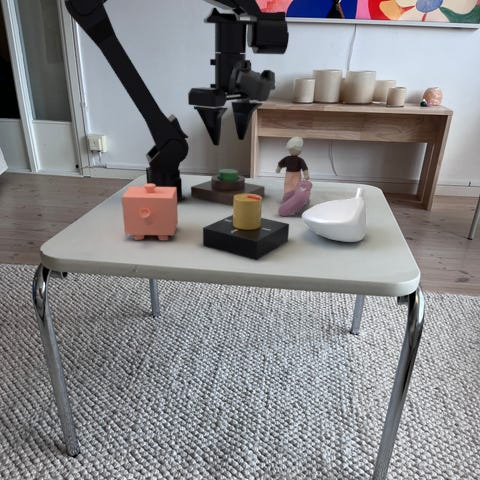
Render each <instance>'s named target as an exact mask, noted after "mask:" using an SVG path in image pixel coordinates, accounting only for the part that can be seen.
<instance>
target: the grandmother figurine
mask: <svg viewBox="0 0 480 480" xmlns="http://www.w3.org/2000/svg"><path fill="white" fill-rule="evenodd" d="M303 146H304V140H303V138H302V137H300V136H294V137H291V138H290V139H289V140H288V142H287V143H286V146H285V149H286V150H287V151H288V153H289V155H286V156H284V157H283V158H281V159H280V160H279V161H278V162H277V166H276V169H275V173H276V174H281V170H283V169H284V168H285V173H284V182H283V196H284V195H285V194H286V193H287V192H289V191H292V190H294V189H295V188H296V185H297V183H298V182H300V181H302V174H303V178H304V179H303V180H307V181H309V180H310V175H309V174H310V173H309V168H308V166H307V163H306V160H305V159H304V158H302V157H300V156H299V155H301V154H302V151H303ZM294 191H296V189H295V190H294ZM281 202H282V204H283V203H284V202H283V200H282V201H281Z"/></svg>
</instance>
